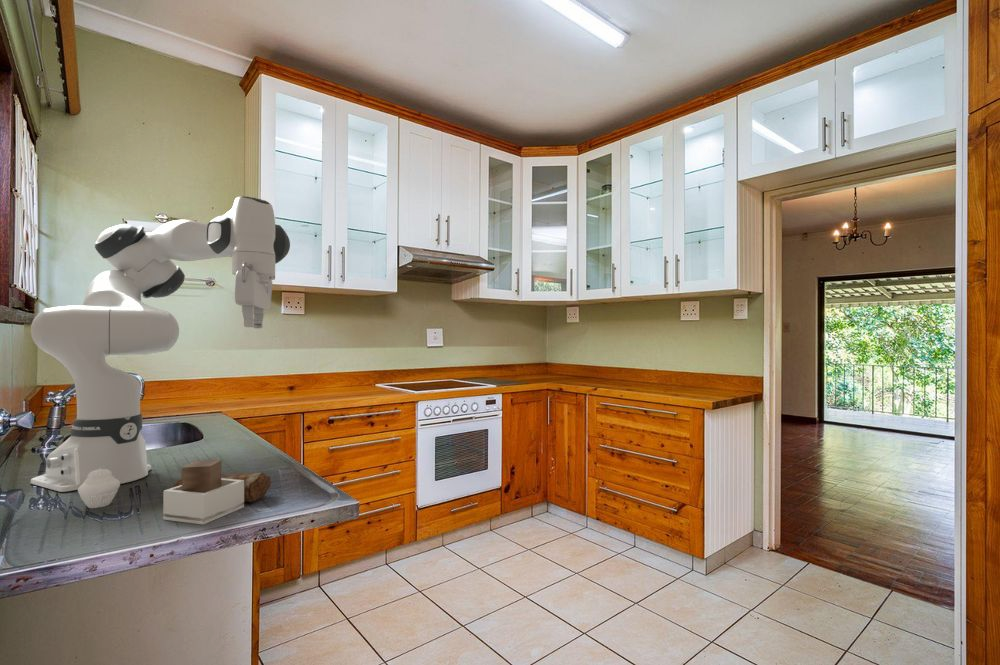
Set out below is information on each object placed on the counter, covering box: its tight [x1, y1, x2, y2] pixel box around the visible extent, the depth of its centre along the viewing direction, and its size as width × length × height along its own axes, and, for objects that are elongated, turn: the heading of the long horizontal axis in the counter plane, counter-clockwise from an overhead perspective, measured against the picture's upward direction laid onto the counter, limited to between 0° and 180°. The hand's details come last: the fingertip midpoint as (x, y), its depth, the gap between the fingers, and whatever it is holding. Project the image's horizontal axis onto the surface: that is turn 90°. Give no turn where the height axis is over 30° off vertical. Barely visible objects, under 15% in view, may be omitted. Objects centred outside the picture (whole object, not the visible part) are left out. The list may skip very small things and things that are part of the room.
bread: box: [172, 472, 272, 503], centre depth 95 cm, size 6×19×6 cm, turn 81°
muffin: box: [77, 468, 121, 509], centre depth 91 cm, size 6×6×7 cm
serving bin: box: [162, 478, 245, 525], centre depth 87 cm, size 9×9×5 cm
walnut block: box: [181, 459, 222, 493], centre depth 87 cm, size 5×5×8 cm
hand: (253, 327), depth 110 cm, fingers open, 8 cm apart
